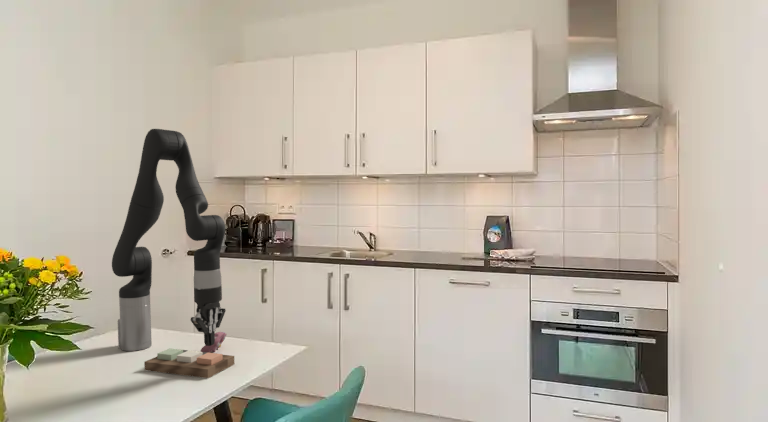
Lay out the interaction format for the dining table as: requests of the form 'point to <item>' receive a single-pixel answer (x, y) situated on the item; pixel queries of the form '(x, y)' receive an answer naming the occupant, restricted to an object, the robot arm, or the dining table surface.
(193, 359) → the key ivory
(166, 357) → the key sage
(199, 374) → the brown wooden flat block
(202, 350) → the video game controller
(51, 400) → the dining table surface
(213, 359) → the key terracotta
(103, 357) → the dining table surface
